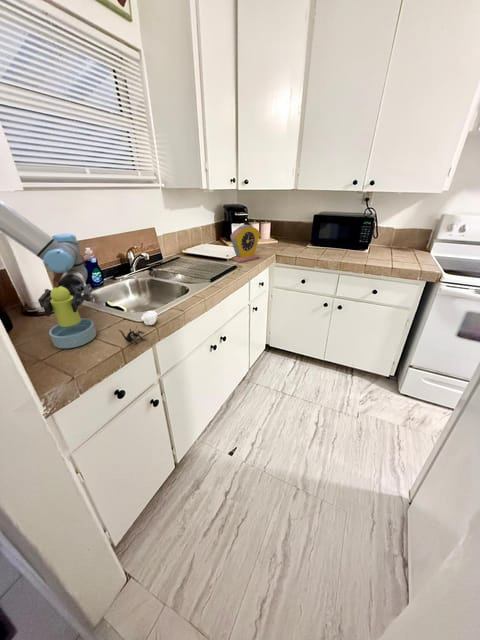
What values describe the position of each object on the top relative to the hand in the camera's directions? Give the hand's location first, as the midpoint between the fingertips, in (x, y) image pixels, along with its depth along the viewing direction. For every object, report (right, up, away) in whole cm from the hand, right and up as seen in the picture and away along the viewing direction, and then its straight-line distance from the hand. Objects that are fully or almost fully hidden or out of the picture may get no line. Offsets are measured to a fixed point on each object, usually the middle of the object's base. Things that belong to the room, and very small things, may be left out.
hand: (60, 309), depth 74 cm
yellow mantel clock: (+55, +37, +98) cm, 119 cm away
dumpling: (+19, -4, +20) cm, 28 cm away
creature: (+18, -10, +10) cm, 23 cm away
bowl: (-2, -9, +10) cm, 14 cm away
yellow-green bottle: (-2, -4, +7) cm, 8 cm away
